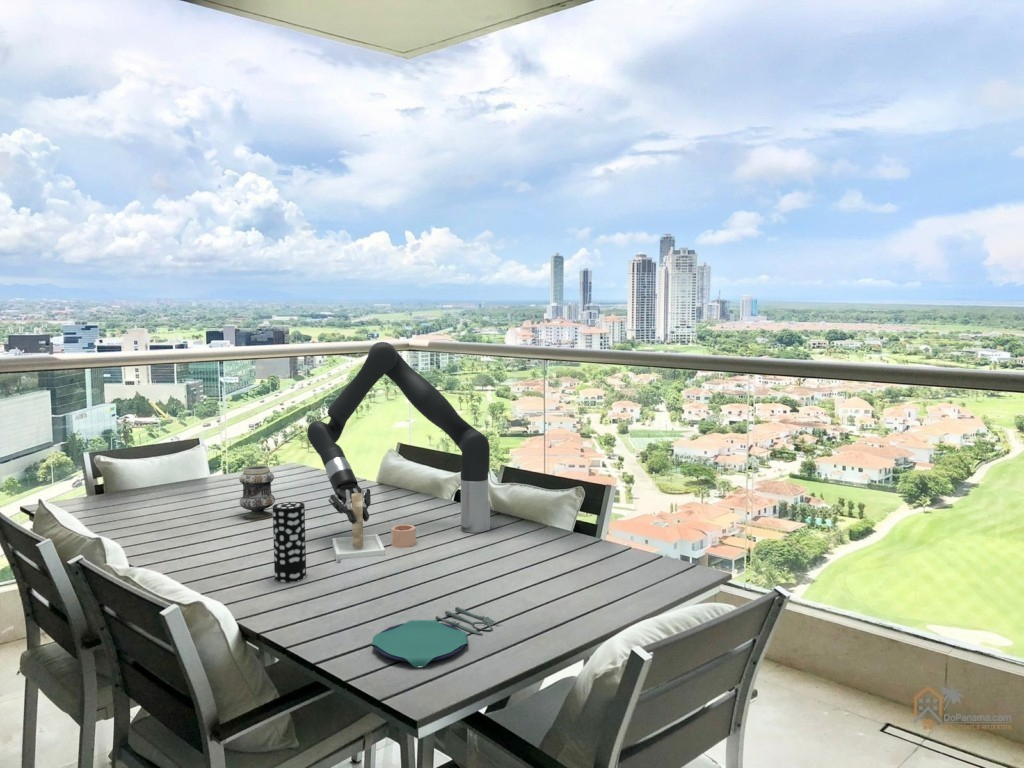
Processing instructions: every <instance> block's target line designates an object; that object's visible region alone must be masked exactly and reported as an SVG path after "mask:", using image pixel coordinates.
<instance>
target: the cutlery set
mask: <svg viewBox="0 0 1024 768" xmlns="http://www.w3.org/2000/svg"><path fill="white" fill-rule="evenodd" d="M454 610H455V612H456V613H457V612H459V613H461V614H463V615H466V616H468V617H471V618H474V619H479V620H480V621H474V622H472V621H470V620H469V619H466V618H465V617H463V616H461V615H458V614H456V613H455V612H452V611H449V610H446V611H444V614H445V615H446V616H451V617H453V618H456V619H459V620H461V621H463V622H465V623H468V624H470V625H472V626H473V625H475V624H484V625H483V626H485V625H487V626H489V627H490V628H491V629H490V628H489V627H488V628H489V629H483V628H479V627H477V626H476V625H475V626H473V628H474V629H475V630H474V629H472V628H469V627H466V626H465V625H461V624H460V622H456V621H455V620H454V621H451V620H448V619H445V618H442V617H440V616H439V615H436V616H435V619H434V620H433V619H417V620H416V619H415V620H408V621H406V622H405V623H404V622H403V623H400V624H395V625H393V626H389V627H388V628H385V629H384V630H382V631H380V632H379V633H376V634H375V635H374V636H373V637H372V638H373V639H372V643H371V647H372V648H375V649H376V651H377V653H379V654H381V655H382V656H384V657H385V658H389V659H393V660H396V661H398V662H399V661H401V662H408V663H409V664H410V665H411V666H413V667H414V668H416V667H418V666H424V667H425V666H427V665H428V664H429V663H430V662H433V661H439V660H443V659H446V658H448V657H452V656H454V655H455V654H457V653H459V652H460V651H462V650H463V648H464V647H465V645H466V647H467V646H468V645H469V642H468V638H469V637H468V633H471V634H473V633H474V635H476V634H480V635H479V636H483V635H484V634H483V632H480V631H482V630H485V631H484V632H487V631H491V630H493V623H494V622H496V621H495V620H493V619H492V618H490V617H489V616H485V615H478V614H475V613H472V612H470V611H467V610H465V609H463V608H461V607H460V606H455V609H454ZM437 620H440V621H444V622H446V623H443V622H439V621H437ZM481 620H483V621H482V622H481ZM484 622H485V623H484ZM447 623H448V624H447ZM487 623H489V624H487ZM490 624H492V625H490ZM452 625H453V626H452ZM487 626H486V627H487ZM478 629H479V630H478ZM465 631H466V632H468V631H469V632H468V633H466V632H465Z"/></svg>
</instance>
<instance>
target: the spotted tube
mask: <svg viewBox="0 0 1024 768" xmlns="http://www.w3.org/2000/svg"><path fill="white" fill-rule="evenodd" d="M305 508H306V507H305V503H304V502H301V501H285V502H280V503H279V502H278V503H276V504H275V503H274V504H273V505H272V526H273V527H272V528H273V529H272V531H273V532H272V533H273V567H274V568H273V569H274V570H273V571H274V580H275V581H276V580H277V581H276V582H278V581H280V582H279V583H294V582H293V581H295V582H299V581H302V580H304V579H305V578H306V577H307V557H306V556H307V553H306V552H307V551H306V550H307V549H306V545H307V544H306V517H305V516H306V515H305V514H306V513H305V512H306V511H305V510H306V509H305ZM298 580H299V581H298Z"/></svg>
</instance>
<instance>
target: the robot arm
mask: <svg viewBox="0 0 1024 768" xmlns="http://www.w3.org/2000/svg"><path fill="white" fill-rule="evenodd" d="M384 375H385V376H386V377H388V378H389V379H390V380H391V381H392V382H393V383H394V384H395V385H396V386H397V387H398V388H399V390H400V391H401V392H402V394H403V395H404V397H405V398H406V399H407V400H408V401H409V402H410V404H411V405H412V406H413V408H415V409H416V410H417V411H418V412H419V413H420V414H421V415H422V416H423V417H424V418H426V419H427V420H428V421H430V422H431V424H433V425H434V426H436V427H438V428H439V429H441V430H442V431H443V432H444V433H445V434H447V436H448V437H449V438H450V439H451V440H452V441H453V442H454V444H455V445H456V446H457V447H458V449H459V450H460V451H461V469H460V470H461V471H460V530H461V531H462V532H465V533H473V534H474V533H475V534H476V533H483V532H486V531H491V502H490V501H489V471H490V457H491V456H490V454H491V453H490V442H489V440H488V438H487V436H485V434H484V433H482V432H481V431H479V430H477V429H476V428H474V427H473V426H472V425H471V424H470V423H469V422H467V421H466V420H465V419H463V417H461V415H459V413H458V412H457V411H456V409H455V408H454V407H453V406H452V404H451V403H450V402H449V401H448V399H447V398H446V397H445V396H444V395H443V394H442V393H441V392H440V391H439V390H438V389H437V388H436V387H435V386H434V385H432V384H431V383H430V382H429V381H428V380H427V379H426V378H425V377H424V376H422V375H421V374H420V373H418V372H417V371H416V370H415V369H413V368H412V367H411V366H410V365H409V364H408V363H407V362H406V361H405V359H404V358H403V357H402V355H400V354H399V352H398V351H397V349H396V348H395V347H394V346H393V345H392V344H391V343H389V342H386V341H378V342H376V343H374V344H373V345H372V346H371V347H370V348H369V351H368V353H367V357H366V359H365V361H364V362H363V365H362V366H361V368H360V370H359V371H358V373H357V374H356V375H355V377H354V378H353V379H352V380H351V381H350V383H348V384H347V385H346V387H344V388H343V390H342V391H341V392H340V394H339V395H338V396H337V397H336V398H335V400H334V401H333V402H332V403H331V405H330V406H329V408H328V409H327V415H328V417H329V418H330V420H329V421H328V423H326V422H324V421H322V420H316V421H313V422H311V423H310V424H309V426H308V427H307V430H306V431H307V432H306V433H307V434H306V435H307V438H308V441H309V443H310V445H311V446H312V447H313V449H314V450H315V451H316V453H317V454H318V456H319V457H320V460H321V461H322V464H323V466H324V468H325V473H326V475H327V478H328V481H329V483H330V485H331V487H332V490H333V492H334V494H331V495H330V496H329V499H328V502H329V503H330V505H332V507H333V508H334V509H335V510H336V511H337V512H338V513H339V514H341V515H342V514H345V515H346V517H347V518H348V521H349V523H351V525H352V524H355V523H356V521H357V519H356V517H355V515H354V512H353V510H352V494H353V493H362V503H363V523H364V522H368V521H369V519H370V514H369V512H368V509H369V507H370V505H371V503H372V501H371V500H372V499H371V489H370V488H366V489H362V488H361V487H360V486H359V484H358V480H357V478H356V476H355V473H354V471H353V469H352V466H351V465H350V463H349V461H348V459H347V457H346V455H345V453H344V451H343V448H342V447H341V446H340V445H339V444H338V443H337V442H338V440H340V437H341V436H342V434H343V431H344V429H345V427H346V425H347V424H346V423H347V422H348V420H349V419H350V418H351V416H352V415H353V414H354V412H355V411H356V410H357V409H358V407H359V406H360V404H361V403H362V402H363V400H364V398H366V396H367V394H368V393H369V392H370V391H371V390H372V388H373V387H374V386H375V384H376V383H377V382H378V381H380V379H381V378H382V377H384Z"/></svg>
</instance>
